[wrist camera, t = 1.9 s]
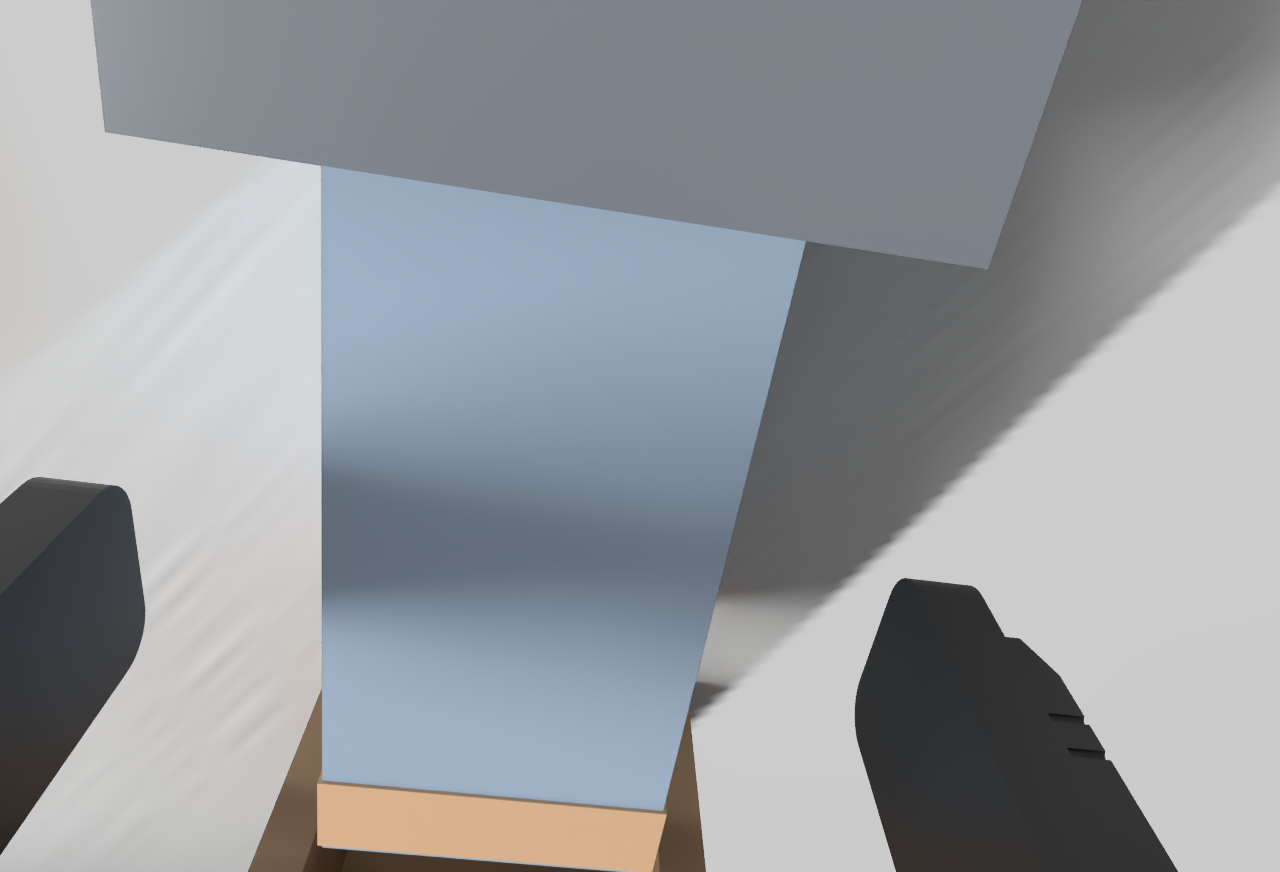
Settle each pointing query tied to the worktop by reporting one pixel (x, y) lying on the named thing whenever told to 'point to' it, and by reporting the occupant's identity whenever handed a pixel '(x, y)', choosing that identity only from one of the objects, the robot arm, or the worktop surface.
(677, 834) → the socket
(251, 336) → the worktop surface
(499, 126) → the blue-gray block
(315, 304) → the worktop surface
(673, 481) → the tan-tipped blue bar
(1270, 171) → the worktop surface
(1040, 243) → the worktop surface
